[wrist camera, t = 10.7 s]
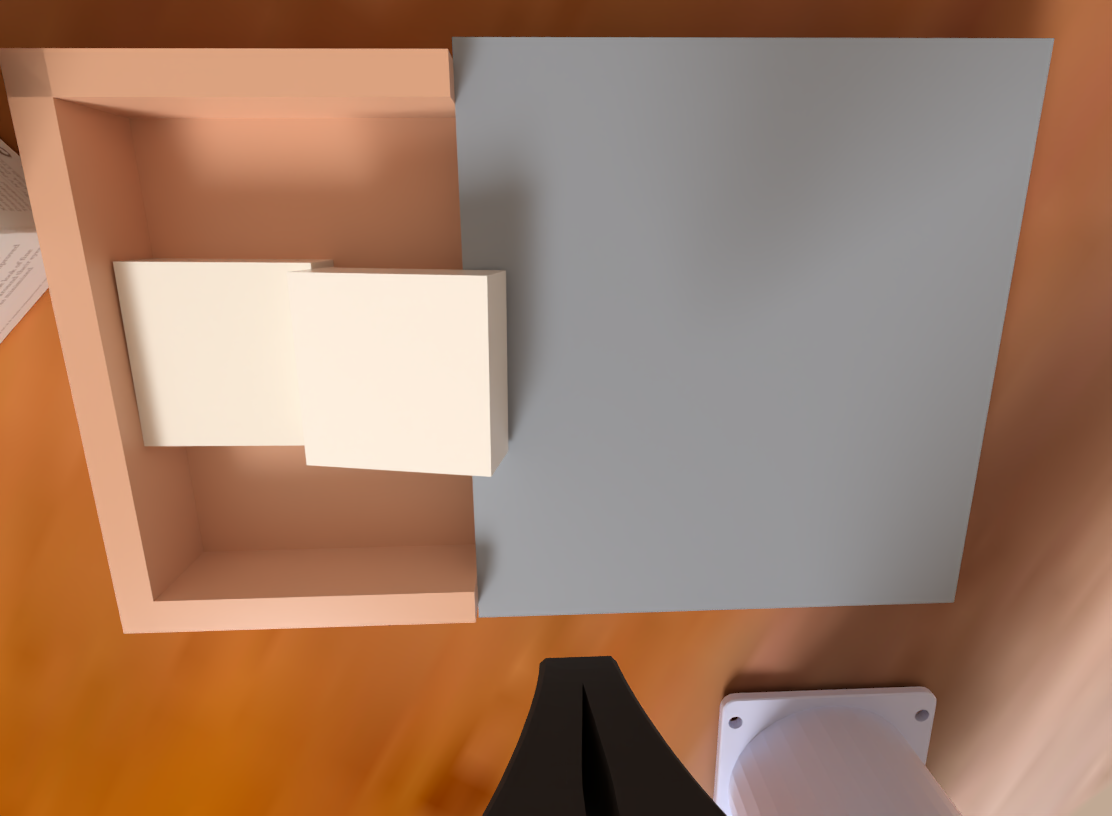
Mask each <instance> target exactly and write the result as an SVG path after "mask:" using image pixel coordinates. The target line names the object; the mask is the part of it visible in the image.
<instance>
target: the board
mask: <svg viewBox="0 0 1112 816" xmlns="http://www.w3.org/2000/svg"><path fill="white" fill-rule="evenodd" d="M1053 43H1054V38H702V37H452V50H453V71H454V93H455V114H456V136H457V157H458V179H459V200H460V221H461V243H462V264H463V270H506V307H507V385H508V452H507V454H506V455H505V457H504V458H503V460H502V461H501V463H500V464H499V466H498V467H497V469H496V470H495V472H494V473H493V475H492V476H491V477H486V476H472V479H473V500H474V522H475V543H476V565H477V586H478V608H479V617H508V616H540V615H572V614H603V613H635V612H667V611H699V610H730V609H762V608H794V607H825V606H857V605H889V604H920V603H952V602H954V599H955V594H956V588H957V582H958V577H959V571H960V566H961V560H962V554H963V549H964V543H965V537H966V532H967V526H968V521H969V515H970V509H971V504H972V498H973V493H974V487H975V481H976V476H977V470H978V464H979V459H980V453H981V448H982V442H983V436H984V431H985V425H986V420H987V414H988V408H989V403H990V397H991V391H992V386H993V380H994V375H995V369H996V363H997V358H998V352H999V347H1000V341H1001V335H1002V330H1003V324H1004V318H1005V313H1006V307H1007V302H1008V296H1009V290H1010V285H1011V279H1012V274H1013V268H1014V262H1015V257H1016V251H1017V245H1018V240H1019V234H1020V229H1021V223H1022V217H1023V212H1024V206H1025V201H1026V195H1027V189H1028V184H1029V178H1030V172H1031V167H1032V161H1033V156H1034V150H1035V144H1036V139H1037V133H1038V128H1039V122H1040V116H1041V111H1042V105H1043V99H1044V94H1045V88H1046V83H1047V77H1048V71H1049V66H1050V60H1051V55H1052V49H1053Z"/></svg>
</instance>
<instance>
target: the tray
mask: <svg viewBox="0 0 1112 816" xmlns="http://www.w3.org/2000/svg"><path fill="white" fill-rule="evenodd" d="M0 66H1V70H2V75H3V79H4V84H5V89H6V93H7V98H8V102H9V107H10V112H11V116H12V121H13V125H14V130H15V135H16V139H17V144H18V148H19V153H20V158H21V162H22V167H23V172H24V176H25V181H26V185H27V190H28V195H29V199H30V204H31V208H32V213H33V218H34V222H35V227H36V231H37V236H38V241H39V245H40V250H41V254H42V259H43V264H44V268H45V273H46V277H47V282H48V287H49V291H50V296H51V300H52V305H53V310H54V314H55V319H56V323H57V328H58V333H59V337H60V342H61V346H62V351H63V356H64V360H65V365H66V370H67V374H68V379H69V383H70V388H71V393H72V397H73V402H74V406H75V411H76V416H77V420H78V425H79V429H80V434H81V439H82V443H83V448H84V452H85V457H86V462H87V466H88V471H89V475H90V480H91V485H92V489H93V494H94V498H95V503H96V508H97V512H98V517H99V521H100V526H101V531H102V535H103V540H104V544H105V549H106V554H107V558H108V563H109V567H110V572H111V577H112V581H113V586H114V591H115V595H116V600H117V604H118V609H119V614H120V618H121V623H122V627H123V632H124V634H125V633H157V632H188V631H219V630H251V629H282V628H314V627H345V626H376V625H408V624H439V623H471V622H476V616H477V609H478V586H477V565H476V543H475V522H474V500H473V479H472V476H470V475H454V474H439V473H423V472H407V471H391V470H375V469H360V468H344V467H328V466H312V465H306V455H305V445H300V446H144V441H143V435H142V429H141V424H140V418H139V412H138V406H137V400H136V394H135V389H134V383H133V377H132V371H131V365H130V360H129V354H128V348H127V342H126V336H125V330H124V325H123V319H122V313H121V307H120V301H119V295H118V290H117V284H116V278H115V272H114V266H113V261H127V260H140V259H153V258H195V259H333V264H334V267H339V268H395V269H452V270H463V264H462V243H461V221H460V200H459V179H458V157H457V136H456V114H455V93H454V71H453V59H452V57H451V54H450V52H449V50H448V49H274V48H0Z"/></svg>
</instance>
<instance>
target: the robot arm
mask: <svg viewBox="0 0 1112 816" xmlns="http://www.w3.org/2000/svg"><path fill="white" fill-rule="evenodd" d="M935 709H936V697H935V696H934V694H933V693H932V692H931V691H930V690H929V689H928V688H926V687H921V686H918V687H891V688H863V689H836V690H808V691H781V692H754V693H733V694H729V695H727V696H725V697H724V698H723V700H722V701H721V704H720V715H719V729H718V743H717V757H716V771H715V785H714V800H712V799H711V798H710V797H709V795H708V794H707V793H706V792H705V791H704V790H703V789H702V787H701V786H700V785H699V784H698V783H697V781H696V780H695V779H694V778H693V777H692V775H691V774H690V773H689V772H688V770H687V769H686V768H685V767H684V765H683V764H682V763H681V762H680V760H679V759H678V758H677V757H676V755H675V754H674V753H673V751H672V750H671V748H670V747H669V746H668V744H667V743H666V742H665V740H664V739H663V737H662V736H661V735H660V733H659V732H658V730H657V729H656V727H655V726H654V725H653V723H652V722H651V720H650V719H649V717H648V716H647V714H646V713H645V711H644V710H643V708H642V707H641V705H640V703H639V702H638V700H637V699H636V697H635V695H634V694H633V692H632V690H631V689H630V687H629V685H628V683H627V682H626V680H625V678H624V676H623V674H622V672H621V670H620V668H619V666H618V664H617V662H616V661H615V660H614V659H613V658H612V657H611V656H598V657H569V658H545V659H544V660H543V661H542V662H541V663H540V666H539V676H538V682H537V687H536V691H535V694H534V698H533V701H532V704H531V708H530V711H529V714H528V716H527V719H526V722H525V725H524V727H523V730H522V733H521V736H520V738H519V741H518V743H517V746H516V748H515V750H514V752H513V755H512V757H511V759H510V761H509V763H508V766H507V768H506V770H505V772H504V774H503V777H502V779H501V781H500V783H499V785H498V787H497V789H496V791H495V793H494V795H493V797H492V799H491V800H490V802H489V804H488V806H487V808H486V810H485V811H484V813H483V815H482V816H962V815H961V813H960V812H959V810H958V809H957V808H956V806H955V805H954V804H953V802H952V801H951V800H950V798H949V797H948V796H947V794H946V793H945V792H944V790H943V789H942V788H941V786H940V785H939V783H938V782H937V781H936V779H935V778H934V777H933V775H932V774H931V773H930V771H929V770H928V769H927V767H926V766H925V765H926V759H927V753H928V748H929V742H930V737H931V731H932V725H933V720H934V714H935ZM920 710H922V711H920ZM918 711H920V712H919V713H917V712H918ZM916 713H917V714H916ZM733 717H738V718H737V719H736V720H734V721H729V720H730V719H731V718H733Z"/></svg>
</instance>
